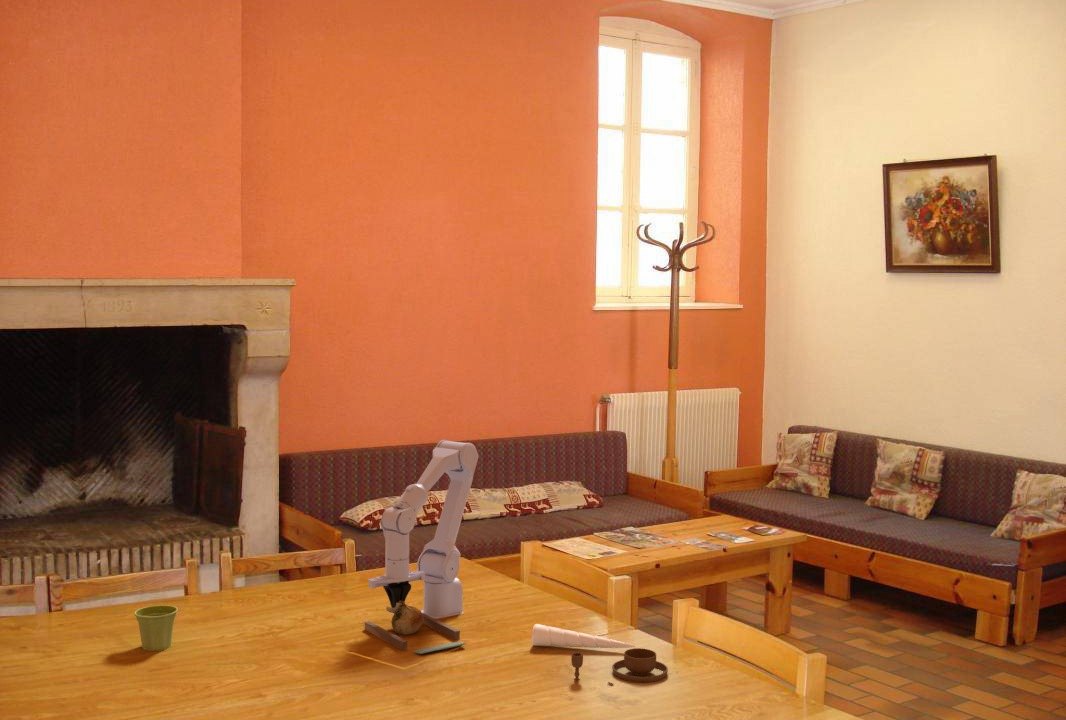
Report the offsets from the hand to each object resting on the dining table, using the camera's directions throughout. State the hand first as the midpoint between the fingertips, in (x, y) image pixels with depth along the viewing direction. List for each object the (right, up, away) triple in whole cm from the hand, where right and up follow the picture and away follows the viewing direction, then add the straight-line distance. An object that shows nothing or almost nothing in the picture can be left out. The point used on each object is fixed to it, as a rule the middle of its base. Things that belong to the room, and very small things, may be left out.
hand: (397, 613), depth 265 cm
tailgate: (+10, -5, -13) cm, 17 cm away
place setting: (+52, -7, -28) cm, 59 cm away
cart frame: (+4, -4, -5) cm, 8 cm away
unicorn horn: (+48, -10, -13) cm, 51 cm away
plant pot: (-53, -5, -16) cm, 55 cm away
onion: (+3, -4, -4) cm, 6 cm away
